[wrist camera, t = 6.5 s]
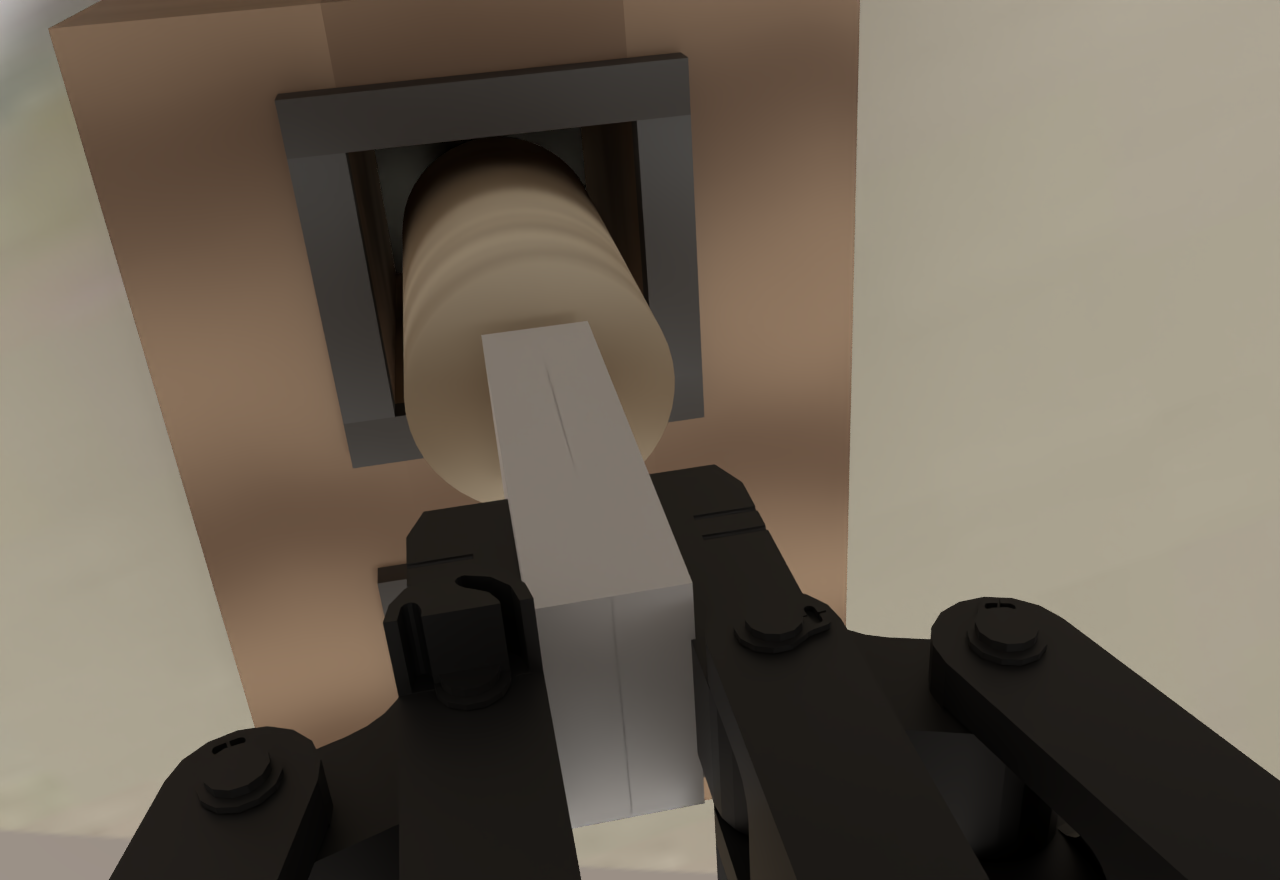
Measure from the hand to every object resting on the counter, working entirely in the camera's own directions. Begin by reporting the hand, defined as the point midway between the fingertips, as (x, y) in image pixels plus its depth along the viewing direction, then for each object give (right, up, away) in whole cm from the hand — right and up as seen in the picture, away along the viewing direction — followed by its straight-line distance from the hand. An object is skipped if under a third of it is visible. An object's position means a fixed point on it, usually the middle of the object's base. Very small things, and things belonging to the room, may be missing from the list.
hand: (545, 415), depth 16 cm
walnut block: (-2, +2, +15) cm, 15 cm away
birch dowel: (-2, +4, +7) cm, 9 cm away
